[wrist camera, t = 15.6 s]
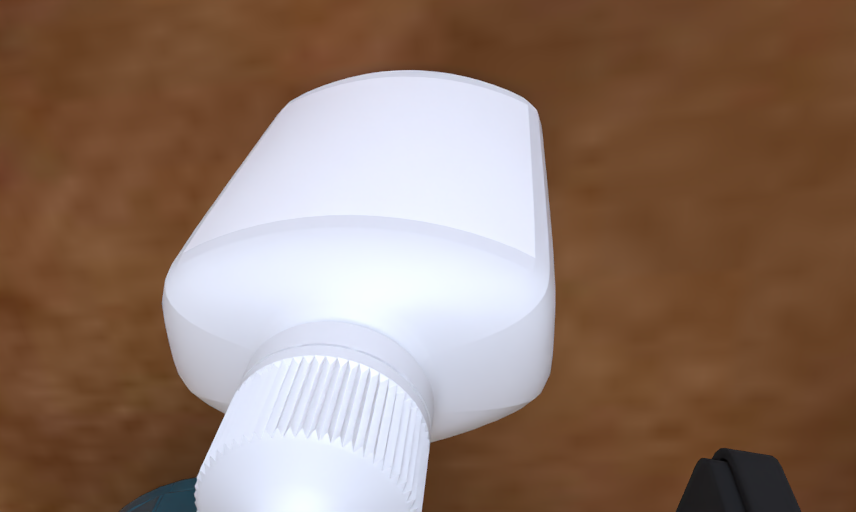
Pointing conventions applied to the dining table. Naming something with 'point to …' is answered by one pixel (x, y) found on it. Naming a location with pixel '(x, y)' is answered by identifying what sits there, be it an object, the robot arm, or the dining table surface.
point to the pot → (167, 498)
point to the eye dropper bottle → (366, 292)
